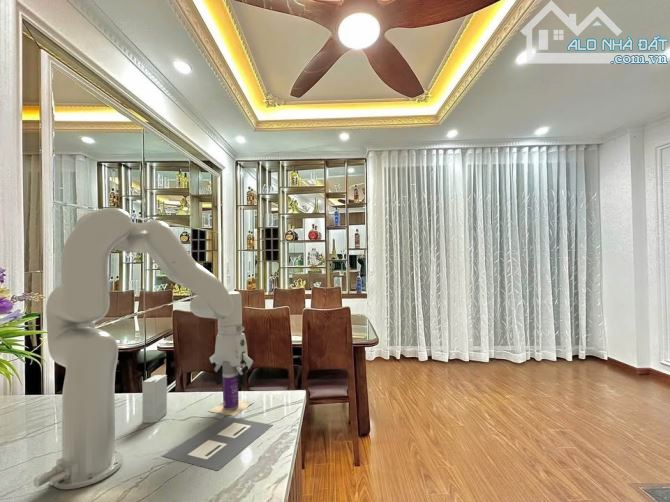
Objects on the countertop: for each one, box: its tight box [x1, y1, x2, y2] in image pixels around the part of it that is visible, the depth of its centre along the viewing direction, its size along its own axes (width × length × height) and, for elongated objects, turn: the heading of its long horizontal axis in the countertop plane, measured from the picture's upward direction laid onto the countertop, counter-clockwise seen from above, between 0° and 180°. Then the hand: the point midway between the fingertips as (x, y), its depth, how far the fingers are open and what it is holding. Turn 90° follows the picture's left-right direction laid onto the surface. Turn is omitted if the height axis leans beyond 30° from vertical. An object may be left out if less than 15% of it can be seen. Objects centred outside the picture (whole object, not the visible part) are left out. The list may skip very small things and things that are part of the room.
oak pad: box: [207, 399, 251, 417], centre depth 106 cm, size 10×10×1 cm
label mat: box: [162, 415, 273, 472], centre depth 86 cm, size 22×17×1 cm
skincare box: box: [141, 374, 168, 424], centre depth 100 cm, size 6×4×12 cm
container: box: [222, 361, 239, 410], centre depth 106 cm, size 5×5×15 cm
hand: (231, 384), depth 107 cm, fingers open, 8 cm apart
